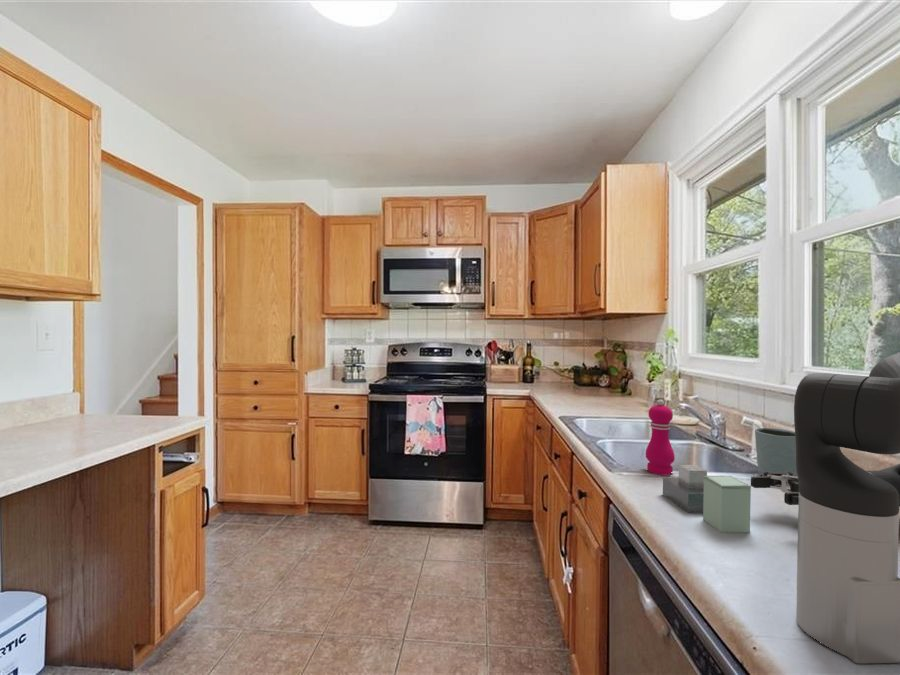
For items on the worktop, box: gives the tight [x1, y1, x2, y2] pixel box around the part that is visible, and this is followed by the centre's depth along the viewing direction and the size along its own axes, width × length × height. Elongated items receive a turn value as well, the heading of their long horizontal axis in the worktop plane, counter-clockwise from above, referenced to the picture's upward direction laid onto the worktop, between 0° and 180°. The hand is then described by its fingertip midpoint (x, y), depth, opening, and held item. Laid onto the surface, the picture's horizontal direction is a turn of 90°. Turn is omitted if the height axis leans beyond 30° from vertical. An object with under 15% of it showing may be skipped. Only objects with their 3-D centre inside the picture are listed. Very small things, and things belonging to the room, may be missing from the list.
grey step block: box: [662, 464, 708, 514], centre depth 94 cm, size 10×8×8 cm
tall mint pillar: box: [702, 475, 752, 533], centre depth 83 cm, size 6×6×9 cm
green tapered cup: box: [754, 427, 798, 477], centre depth 112 cm, size 10×10×12 cm
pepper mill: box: [645, 399, 676, 476], centre depth 115 cm, size 7×7×20 cm
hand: (768, 490), depth 83 cm, fingers open, 8 cm apart
